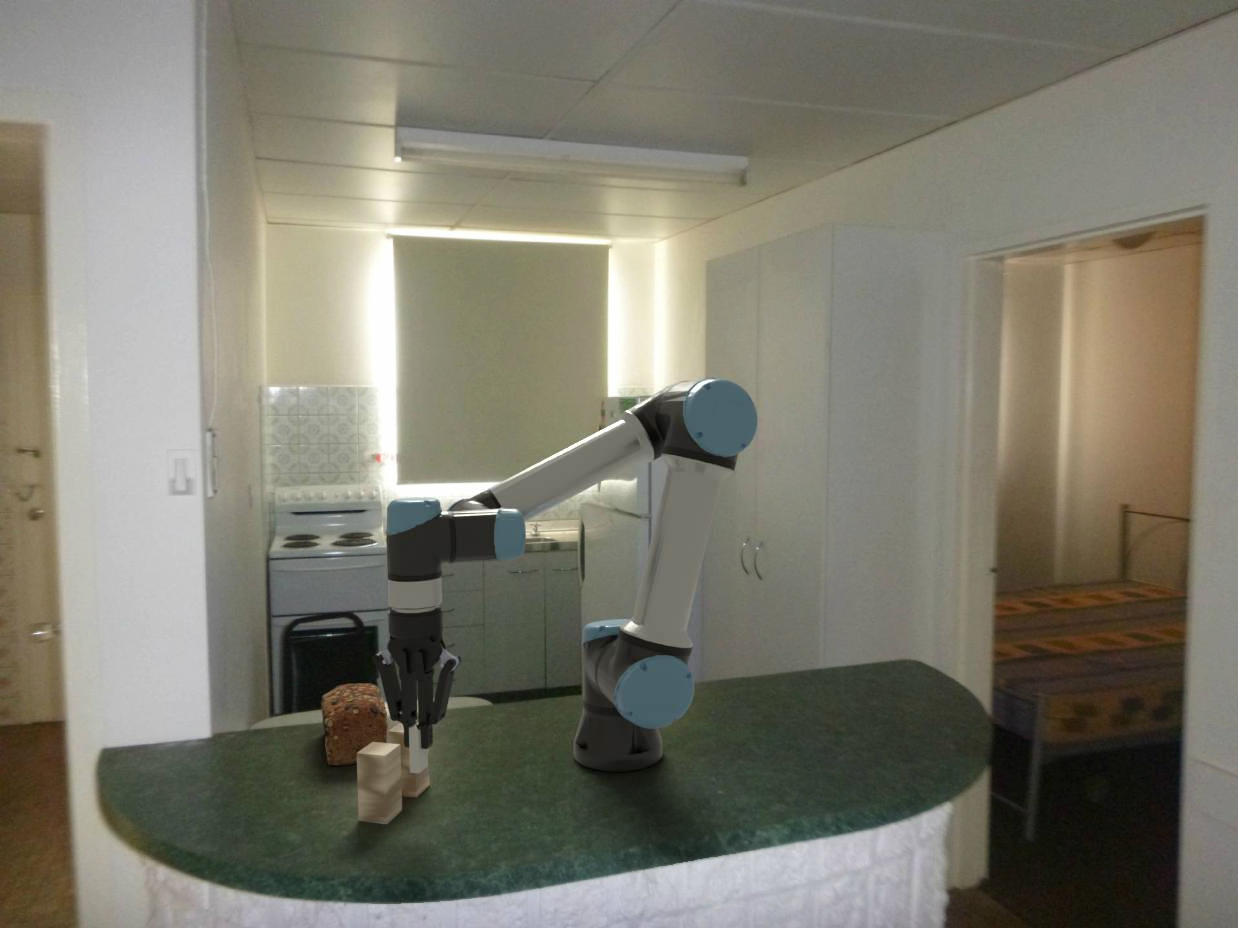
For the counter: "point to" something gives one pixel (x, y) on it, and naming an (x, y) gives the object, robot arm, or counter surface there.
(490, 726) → the counter surface
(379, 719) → the bread
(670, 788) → the counter surface
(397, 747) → the light wood rectangular bar
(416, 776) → the light wood tall block
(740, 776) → the counter surface
